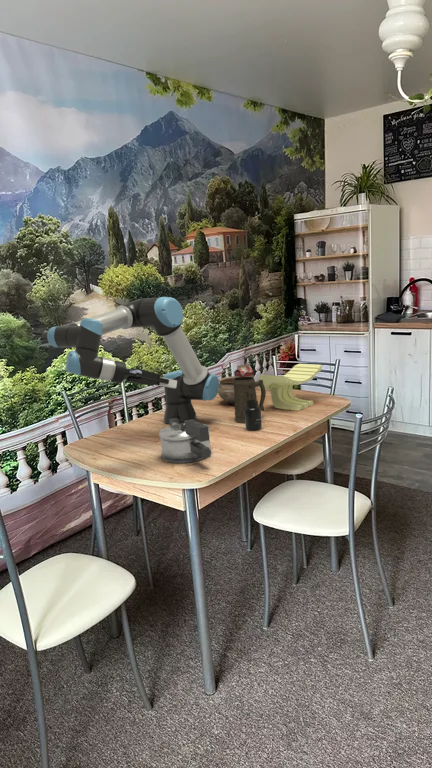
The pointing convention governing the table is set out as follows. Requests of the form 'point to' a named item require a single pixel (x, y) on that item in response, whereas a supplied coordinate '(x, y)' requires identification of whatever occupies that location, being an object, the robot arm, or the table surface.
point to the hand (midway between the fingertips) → (175, 384)
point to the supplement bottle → (253, 416)
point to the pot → (185, 451)
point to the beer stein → (246, 395)
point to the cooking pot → (227, 389)
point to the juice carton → (243, 371)
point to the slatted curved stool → (290, 386)
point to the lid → (185, 431)
